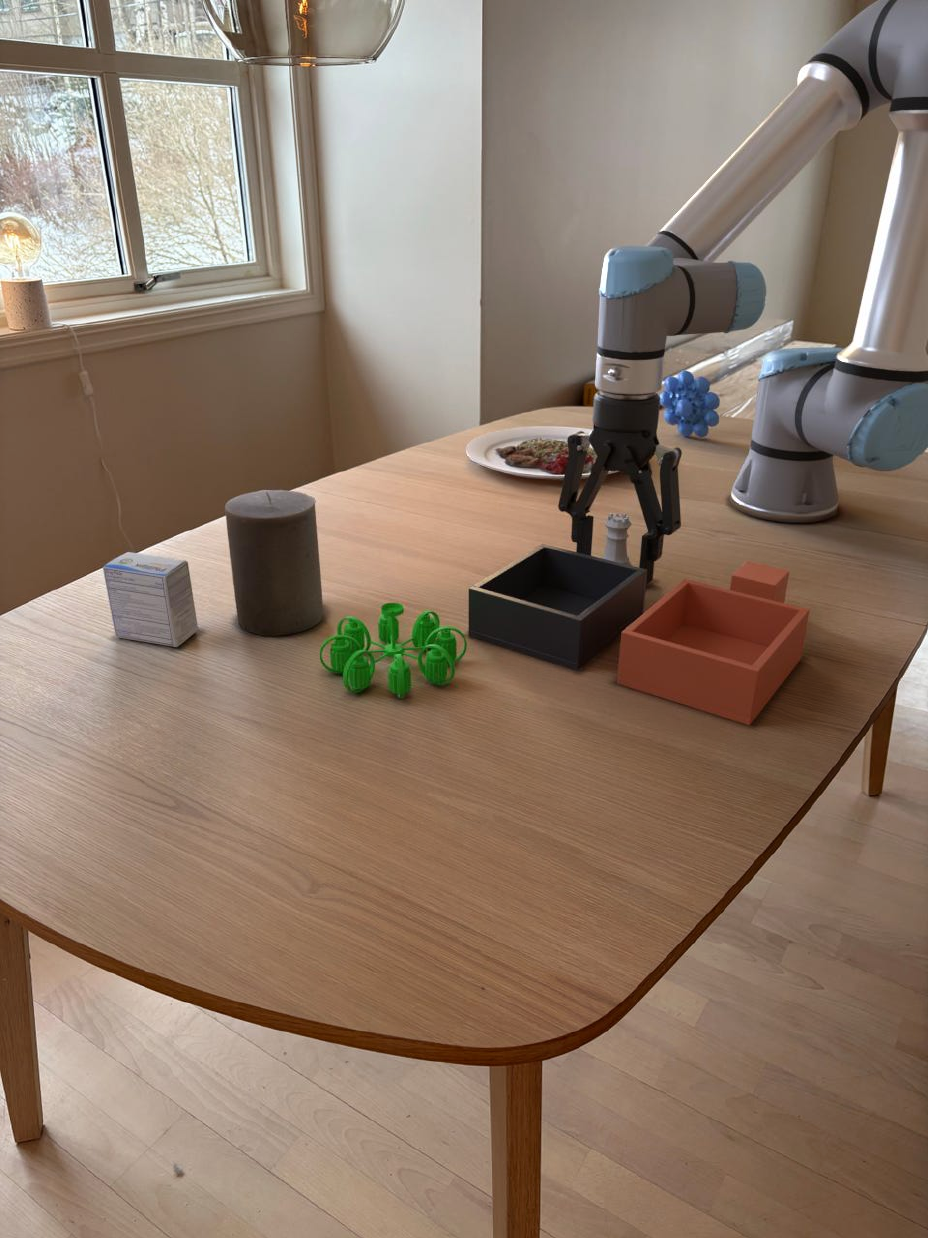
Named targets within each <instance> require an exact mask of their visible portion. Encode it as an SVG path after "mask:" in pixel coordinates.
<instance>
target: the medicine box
mask: <svg viewBox="0 0 928 1238" xmlns="http://www.w3.org/2000/svg"><path fill="white" fill-rule="evenodd" d="M189 567H190V566H189V562H188V561H187V560H185V559H179V558H173V557H167V556H160V555H153V554H145V553H138V552H131V551H127V552H125V553H123V554H121V555H119V556H118V557H115V558H113V559H112V560H111V561H109V562H108V563H106V564H105V565H104V566H102V571H103V577H104V582H105V587H106V588H105V589H106V593H107V598H108V603H109V609H110V613H111V614H110V615H111V621H112V624H113V630H114V635H115V637H116V638H121V639H125V640H133V641H138V642H143V643H149V644H154V645H155V644H156V645H161V646H166V647H173V648H178V647H179V646H181V645H182V644H183V643H185V642H186V641H188V639H190V637H192V636H193V635H194V634H195V633H197V632H198V631H199V625H198V619H197V613H196V605H195V600H194V594H193V592H194V591H193V587H192V578H191V573H190V568H189Z"/></svg>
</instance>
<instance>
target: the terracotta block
mask: <svg viewBox="0 0 928 1238" xmlns="http://www.w3.org/2000/svg"><path fill="white" fill-rule="evenodd" d="M789 576H790V570H788V569H784V568H781V567H780V568H779V567H775V566H771V565H765V564H761V563H757V562H753V561H748V560H747V561H745V562H744V563H743V564H742V565H741V566H740V567H739V568H738V569H737V570H736V571H734V572H733V573H732V574H731V578H730V584H729V585H730V586H729V590H732V591H736V592H740V593H744V594H748V595H752V596H756V597H761V598H765V599H769V600H773V601H777V602H781V603H785V601H786V595H787V590H788V582H789V578H790V577H789Z"/></svg>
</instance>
